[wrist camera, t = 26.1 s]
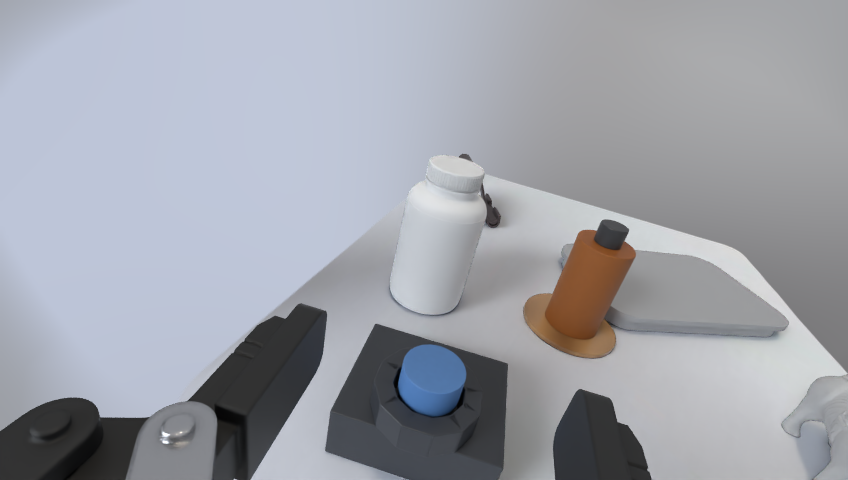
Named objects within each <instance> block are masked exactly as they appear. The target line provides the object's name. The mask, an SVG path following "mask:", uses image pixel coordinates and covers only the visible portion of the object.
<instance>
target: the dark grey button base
mask: <svg viewBox="0 0 848 480" xmlns="http://www.w3.org/2000/svg"><path fill="white" fill-rule="evenodd" d="M420 345H437V346H441V347H444V348H446V349H448V350H450V351H452V352H453V353H454V354H456V355H457V356H458V357H459V358H460V359H461V361H462V362H463V364H464V366H465V369H466V380H465V383H464V386H463V389H462V392H461V395H460V398H459V401H458V403H457V405H456V407H455V408H454V409H453V410H452V411H451V412H449V413H448V414H446V415H443V416H438V417H429V416H425V415H422V414H418V413H416V412H414V411H413V410H411V409H410V408H409V407H407V406H406V405H405V404H404V402H403V401H402V399H401V397H400V395H399V392H398V381H399V377H400V373H401V369H402V364H403V360H404V357H405V355H406V354H407V353H408V352H409V351H410V350H411V349H413V348H414V347H417V346H420ZM507 370H508V364H507V363H504V362H501V361H497V360H494V359H491V358H487V357H484V356H481V355H477V354H474V353H471V352H468V351H464V350H461V349H458V348H454V347H451V346H448V345H445V344H441V343H438V342H435V341H431V340H428V339H425V338H421V337H418V336H415V335H412V334H408V333H405V332H402V331H398V330H395V329H392V328H389V327H385V326H382V325H379V324H375V325H374V327H373V329H372V331H371V333H370V335H369V337H368V339H367V341H366V343H365V345H364V347H363V349H362V351H361V353H360V355H359V357H358V359H357V360H356V362H355V364H354V366H353V368H352V370H351V372H350V374H349V376H348V378H347V380H346V382H345V384H344V386H343V388H342V390H341V392H340V394H339V396H338V398H337V399H336V401H335V403H334V405H333V407H332V409H331V411H330V419H329V426H328V434H327V442H326V449H325V451H327V452H329V453H332V454H335V455H338V456H341V457H344V458H347V459H350V460H353V461H356V462H359V463H362V464H365V465H368V466H371V467H374V468H377V469H380V470H383V471H385V472H388V473H391V474H394V475H397V476H400V477H403V478H406V479H409V480H498V478H499V476H500V474H501V472H502V470H503V464H504V440H505V417H506V394H507Z"/></svg>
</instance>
